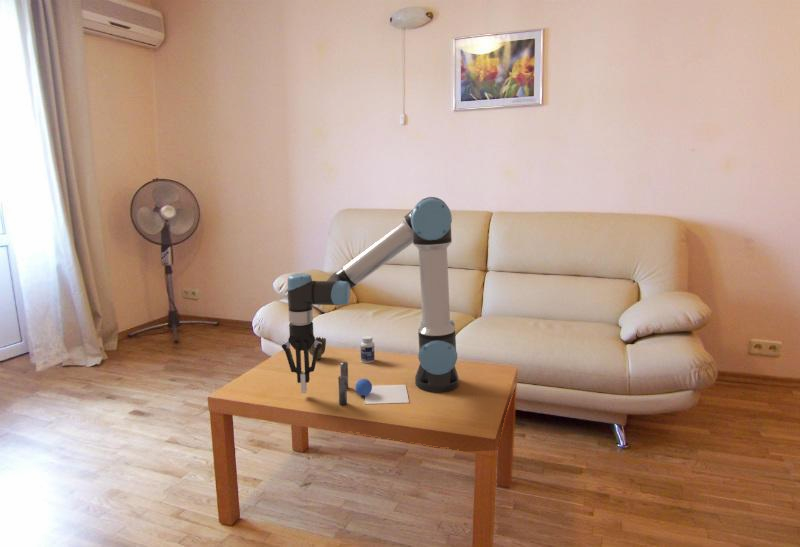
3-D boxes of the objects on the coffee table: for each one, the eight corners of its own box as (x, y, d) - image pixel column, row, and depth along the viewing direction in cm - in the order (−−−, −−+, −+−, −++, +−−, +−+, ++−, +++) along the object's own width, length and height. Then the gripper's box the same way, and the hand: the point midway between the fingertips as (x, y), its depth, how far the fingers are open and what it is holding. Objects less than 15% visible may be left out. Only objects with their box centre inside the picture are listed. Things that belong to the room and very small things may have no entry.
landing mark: (405, 385, 176) (405, 384, 176) (409, 402, 163) (409, 402, 163) (365, 386, 175) (365, 385, 175) (365, 404, 162) (365, 403, 162)
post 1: (348, 386, 175) (347, 361, 174) (348, 389, 173) (347, 364, 171) (341, 386, 175) (340, 361, 174) (340, 389, 173) (340, 364, 171)
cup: (324, 362, 198) (324, 342, 197) (306, 362, 198) (305, 342, 197) (327, 355, 206) (327, 336, 204) (309, 355, 206) (309, 336, 204)
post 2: (347, 402, 163) (346, 375, 162) (346, 405, 161) (346, 378, 159) (339, 402, 163) (338, 375, 161) (338, 405, 161) (338, 378, 159)
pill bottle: (359, 362, 197) (358, 338, 196) (363, 358, 203) (362, 334, 201) (372, 364, 196) (372, 339, 194) (376, 359, 201) (375, 335, 200)
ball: (357, 393, 171) (373, 389, 171) (357, 400, 166) (373, 396, 166) (353, 378, 170) (369, 374, 170) (353, 384, 165) (370, 380, 165)
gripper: (322, 318, 166) (324, 386, 171) (282, 319, 166) (285, 387, 170) (320, 325, 159) (323, 395, 164) (278, 326, 158) (282, 397, 163)
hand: (303, 391), depth 167 cm, fingers closed
